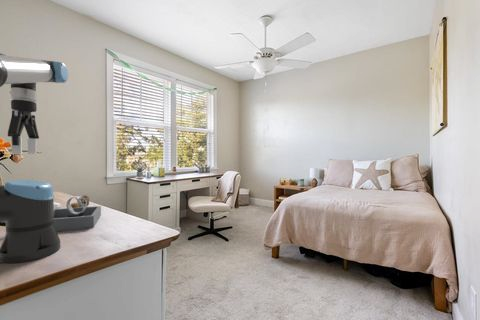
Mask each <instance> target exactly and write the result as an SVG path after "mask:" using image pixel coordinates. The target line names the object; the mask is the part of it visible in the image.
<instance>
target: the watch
mask: <svg viewBox="0 0 480 320" xmlns="http://www.w3.org/2000/svg"><path fill="white" fill-rule="evenodd" d="M72 199H75V200H76V203H78V205H79V206H81V207H82V209H83V210H82V211H81V212H74V210H73V208H72V206H71V201H72ZM65 206H66V208H67V209H68V211H69V212H70V213H72V214H70V215H68V217H80V216H85V212H83V211H85V209H86V207H88V206H87V201H86V200H85V199H84V198H83V197H82V196H80V195H79V196H78V195H77V196H73V197H70V198H69V199H68V200H67V201H66V205H65Z"/></svg>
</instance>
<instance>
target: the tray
mask: <svg viewBox="0 0 480 320" xmlns="http://www.w3.org/2000/svg"><path fill="white" fill-rule="evenodd" d="M73 210H74V212H81V211H82V210H83V209H82V207H79V208H73ZM83 212H85V216H80V217H68V215H70V214H72V213H70V212H69V211H68V209H67V207H66V208H65V207H64V208H61V209H54V228H55V230H56V232H60V231H70V230H81V229H92V228H95V226H96V224H97V223H98V221H99V220H100V218H101V216H102V206H101V205H97V206H95V205H94V206H87V207H86V209H85V211H83Z"/></svg>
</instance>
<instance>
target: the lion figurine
mask: <svg viewBox="0 0 480 320" xmlns="http://www.w3.org/2000/svg"><path fill="white" fill-rule="evenodd" d="M81 197H83V198H84V199H85V200H86V201H87V207H89V205H90V197H89V195H87V194H86V195H82V196H81ZM70 205H71V206H72V208H79V207H81V206H79V205H78V203H77V202H72V203H70Z"/></svg>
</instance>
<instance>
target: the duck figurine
mask: <svg viewBox="0 0 480 320" xmlns="http://www.w3.org/2000/svg"><path fill="white" fill-rule="evenodd" d="M53 205H54V209H62V204H61V203H59V202H55V201H53Z"/></svg>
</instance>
